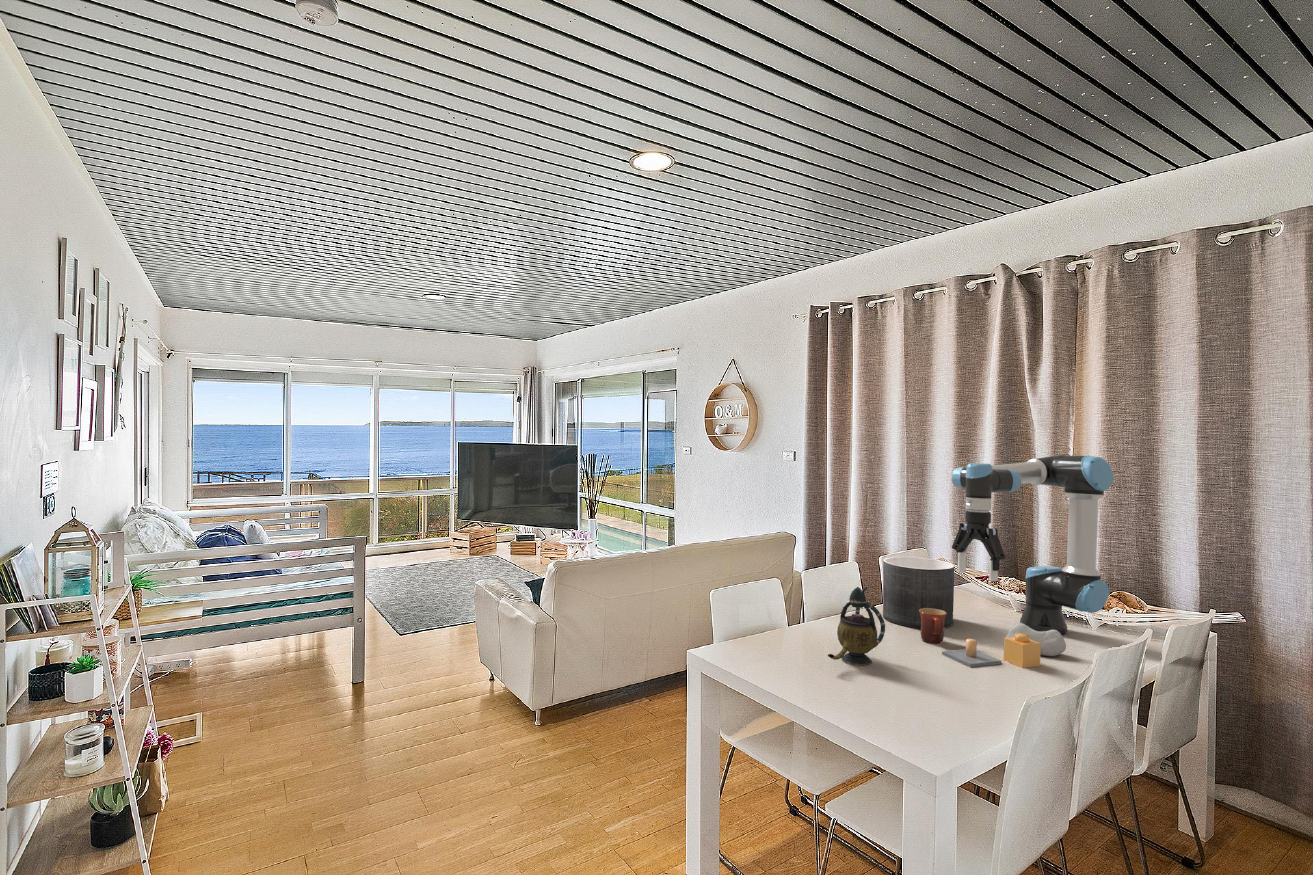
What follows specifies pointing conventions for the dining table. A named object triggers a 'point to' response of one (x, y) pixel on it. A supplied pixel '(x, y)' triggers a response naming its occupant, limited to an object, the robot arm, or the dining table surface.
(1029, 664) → the orange cube with dome
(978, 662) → the plate
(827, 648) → the dining table surface
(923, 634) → the mug
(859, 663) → the teapot
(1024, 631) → the decorative stone
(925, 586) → the planter
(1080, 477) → the robot arm
